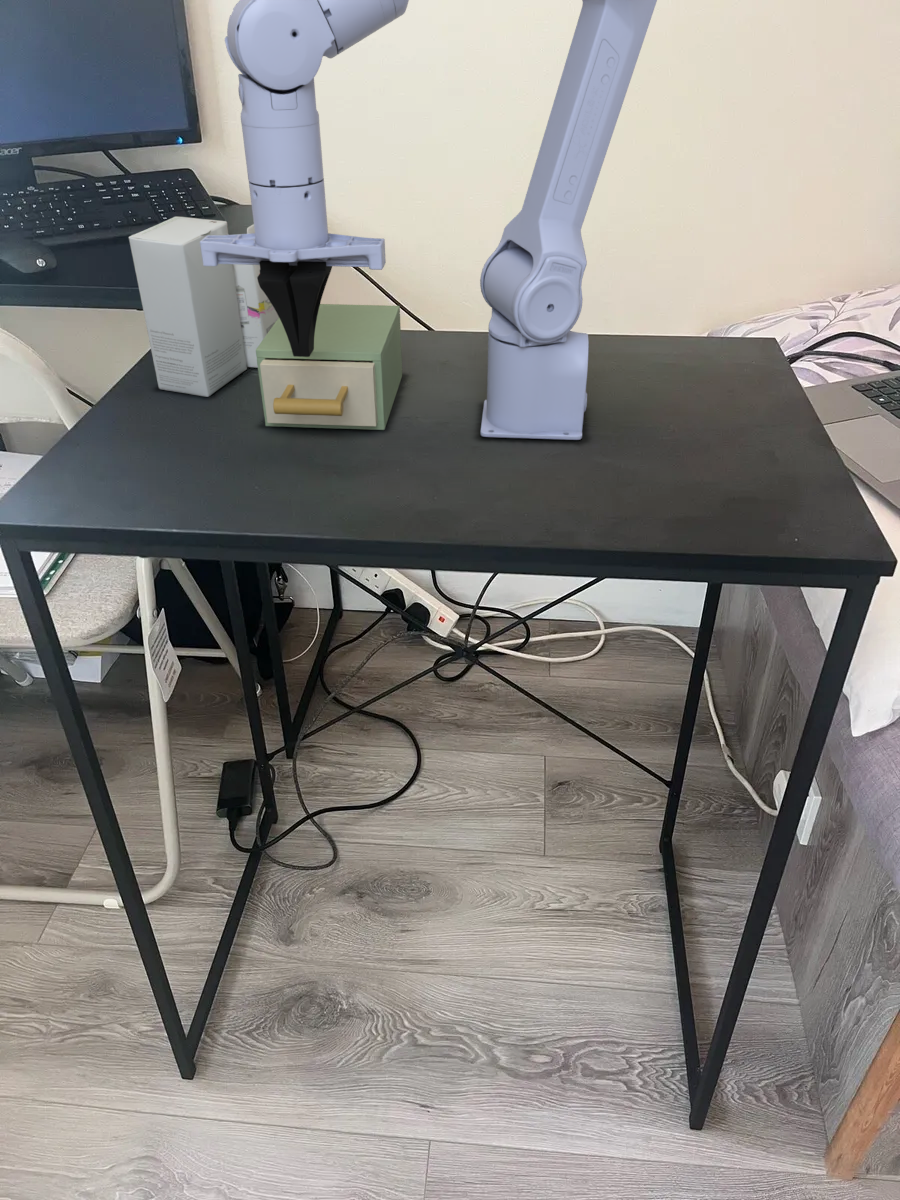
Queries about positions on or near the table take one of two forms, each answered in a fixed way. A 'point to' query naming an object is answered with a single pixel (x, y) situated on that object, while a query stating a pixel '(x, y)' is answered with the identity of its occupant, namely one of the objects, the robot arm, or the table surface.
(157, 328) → the cosmetic box
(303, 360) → the drawer
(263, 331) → the ink cartridge box
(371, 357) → the cabinet
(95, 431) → the table surface
